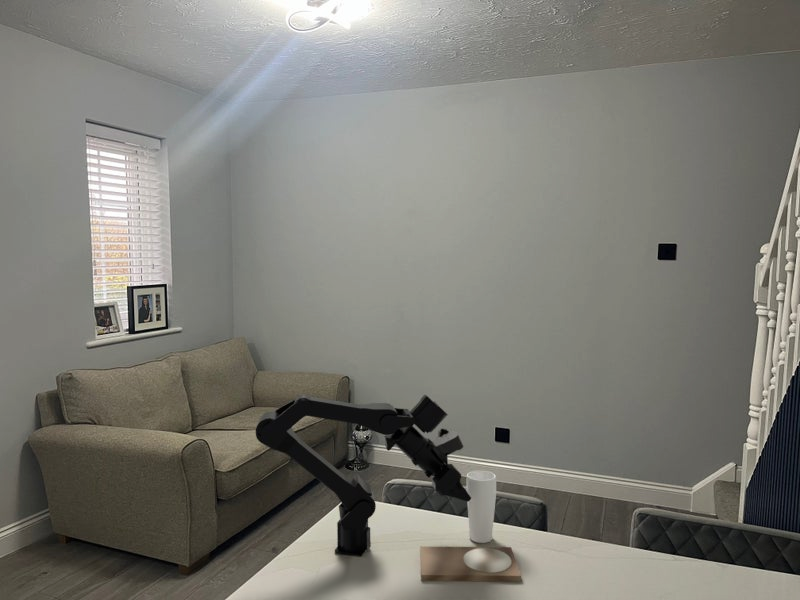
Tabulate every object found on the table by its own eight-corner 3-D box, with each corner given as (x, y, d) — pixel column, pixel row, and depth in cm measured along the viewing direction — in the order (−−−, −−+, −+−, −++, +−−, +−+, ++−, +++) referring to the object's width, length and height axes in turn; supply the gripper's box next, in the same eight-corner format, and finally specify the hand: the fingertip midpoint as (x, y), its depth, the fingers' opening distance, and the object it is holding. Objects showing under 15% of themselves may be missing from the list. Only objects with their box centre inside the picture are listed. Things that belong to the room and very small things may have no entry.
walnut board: (421, 580, 119) (421, 574, 119) (420, 551, 131) (420, 545, 131) (521, 581, 119) (521, 574, 119) (511, 552, 131) (511, 546, 131)
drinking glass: (495, 547, 133) (495, 481, 133) (464, 544, 135) (465, 479, 134) (496, 533, 140) (496, 471, 139) (467, 531, 141) (467, 469, 141)
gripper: (451, 432, 125) (501, 480, 127) (432, 410, 143) (476, 453, 146) (414, 471, 124) (465, 519, 127) (400, 444, 143) (445, 486, 145)
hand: (464, 491), depth 136 cm, fingers open, 9 cm apart
